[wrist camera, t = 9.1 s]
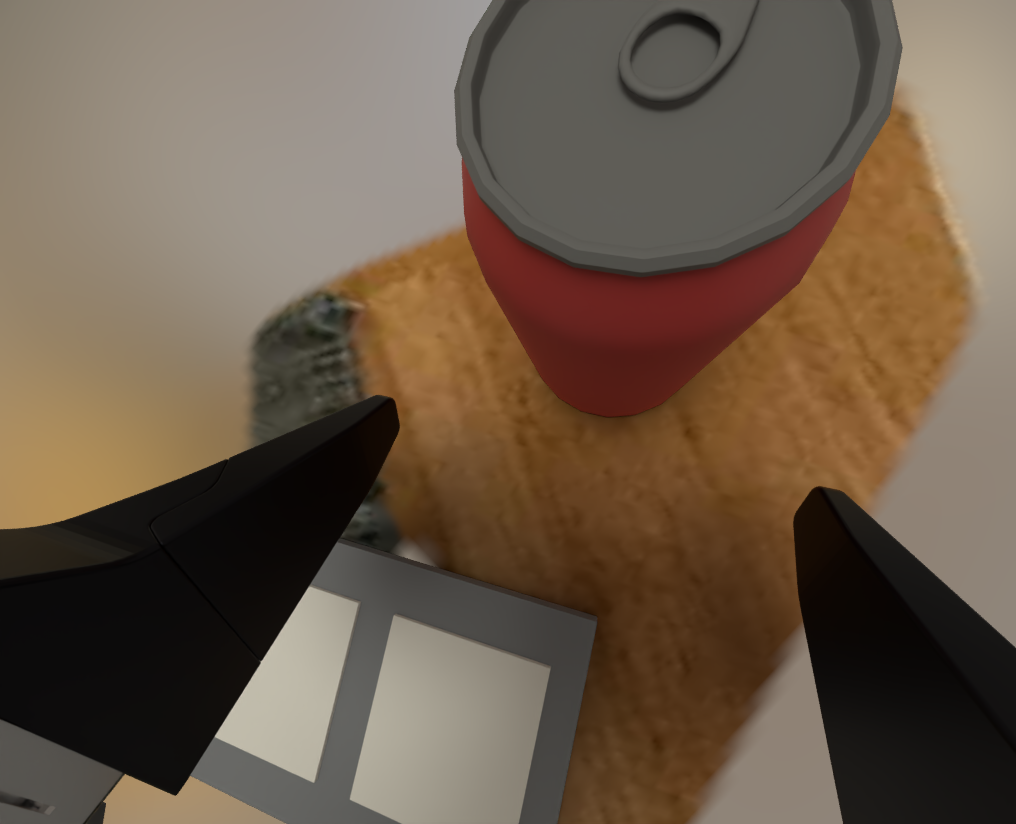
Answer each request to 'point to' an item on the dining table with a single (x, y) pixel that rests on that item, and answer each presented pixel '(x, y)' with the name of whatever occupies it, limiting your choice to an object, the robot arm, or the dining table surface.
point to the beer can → (660, 172)
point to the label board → (407, 701)
